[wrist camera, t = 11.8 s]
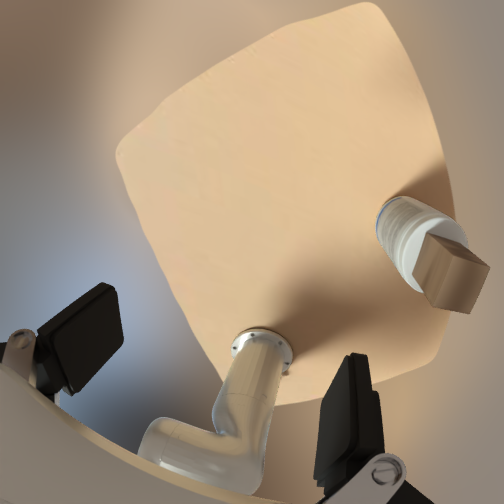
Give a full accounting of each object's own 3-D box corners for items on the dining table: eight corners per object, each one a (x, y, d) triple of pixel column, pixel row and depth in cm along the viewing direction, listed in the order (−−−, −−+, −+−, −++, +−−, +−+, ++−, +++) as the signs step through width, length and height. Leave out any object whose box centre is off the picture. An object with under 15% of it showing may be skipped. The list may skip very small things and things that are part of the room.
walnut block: (459, 242, 23) (490, 267, 17) (445, 282, 25) (469, 314, 19) (426, 232, 24) (453, 255, 18) (411, 274, 26) (432, 306, 20)
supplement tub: (374, 254, 41) (396, 300, 28) (372, 196, 38) (399, 219, 25) (426, 249, 38) (464, 291, 25) (427, 193, 35) (472, 214, 22)
